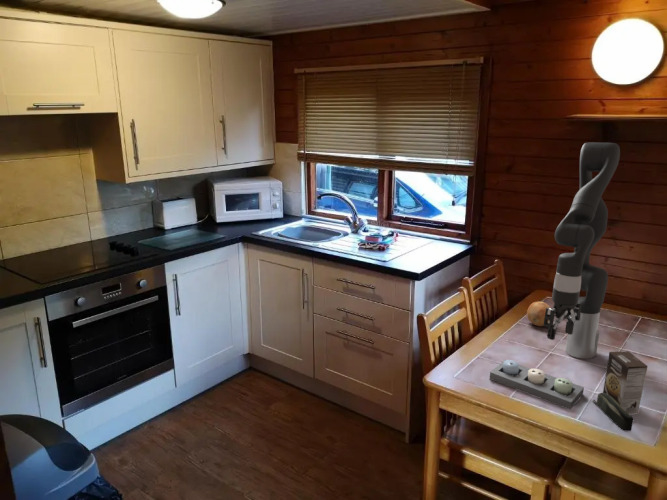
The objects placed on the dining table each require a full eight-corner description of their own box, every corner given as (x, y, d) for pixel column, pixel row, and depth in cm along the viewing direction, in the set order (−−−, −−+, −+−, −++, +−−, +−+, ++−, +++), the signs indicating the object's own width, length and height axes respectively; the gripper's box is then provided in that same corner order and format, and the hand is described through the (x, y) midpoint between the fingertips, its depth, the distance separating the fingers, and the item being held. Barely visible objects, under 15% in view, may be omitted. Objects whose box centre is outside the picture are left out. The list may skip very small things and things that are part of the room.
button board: (489, 378, 173) (490, 372, 172) (504, 366, 181) (505, 359, 180) (570, 409, 156) (571, 402, 155) (582, 394, 164) (583, 387, 163)
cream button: (524, 381, 168) (525, 372, 167) (531, 375, 171) (532, 366, 170) (540, 386, 164) (541, 377, 163) (546, 380, 168) (547, 371, 167)
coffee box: (600, 398, 162) (608, 351, 157) (620, 396, 162) (628, 350, 157) (618, 415, 153) (627, 366, 148) (639, 414, 154) (648, 365, 149)
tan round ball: (553, 323, 214) (556, 300, 211) (548, 332, 206) (551, 308, 203) (529, 317, 219) (531, 295, 216) (523, 326, 211) (525, 303, 208)
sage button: (551, 390, 162) (552, 381, 161) (557, 384, 166) (558, 375, 165) (567, 396, 159) (569, 387, 158) (573, 390, 162) (574, 381, 161)
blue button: (499, 372, 173) (500, 363, 172) (506, 366, 177) (507, 357, 176) (514, 377, 170) (515, 368, 169) (520, 371, 173) (521, 362, 173)
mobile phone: (636, 417, 145) (601, 387, 159) (626, 418, 144) (592, 388, 158) (633, 432, 146) (599, 401, 160) (623, 433, 146) (590, 402, 160)
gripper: (571, 280, 166) (564, 327, 170) (540, 287, 159) (534, 336, 164) (592, 287, 160) (584, 336, 164) (562, 294, 153) (554, 345, 157)
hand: (559, 336), depth 164 cm, fingers open, 8 cm apart
